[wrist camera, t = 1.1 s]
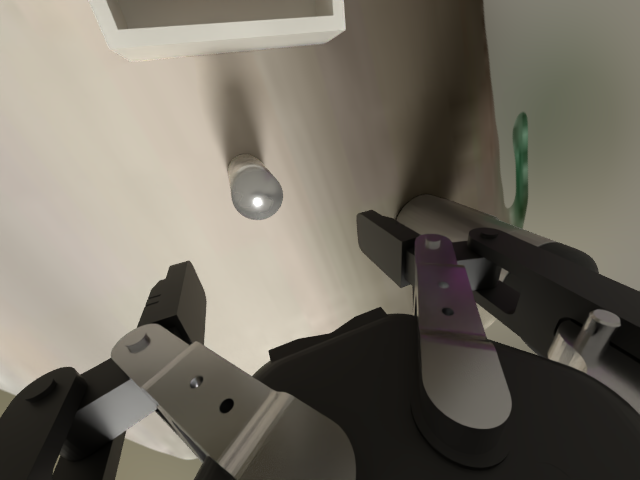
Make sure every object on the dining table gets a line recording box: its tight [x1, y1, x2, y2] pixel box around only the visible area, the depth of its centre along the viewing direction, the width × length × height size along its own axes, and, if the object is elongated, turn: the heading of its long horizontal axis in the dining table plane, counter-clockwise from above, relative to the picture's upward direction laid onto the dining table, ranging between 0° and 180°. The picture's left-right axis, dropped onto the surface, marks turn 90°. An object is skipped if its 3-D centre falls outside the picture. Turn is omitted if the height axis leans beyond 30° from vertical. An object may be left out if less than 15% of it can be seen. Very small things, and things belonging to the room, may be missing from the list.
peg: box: [228, 154, 283, 220], centre depth 24 cm, size 4×4×10 cm
